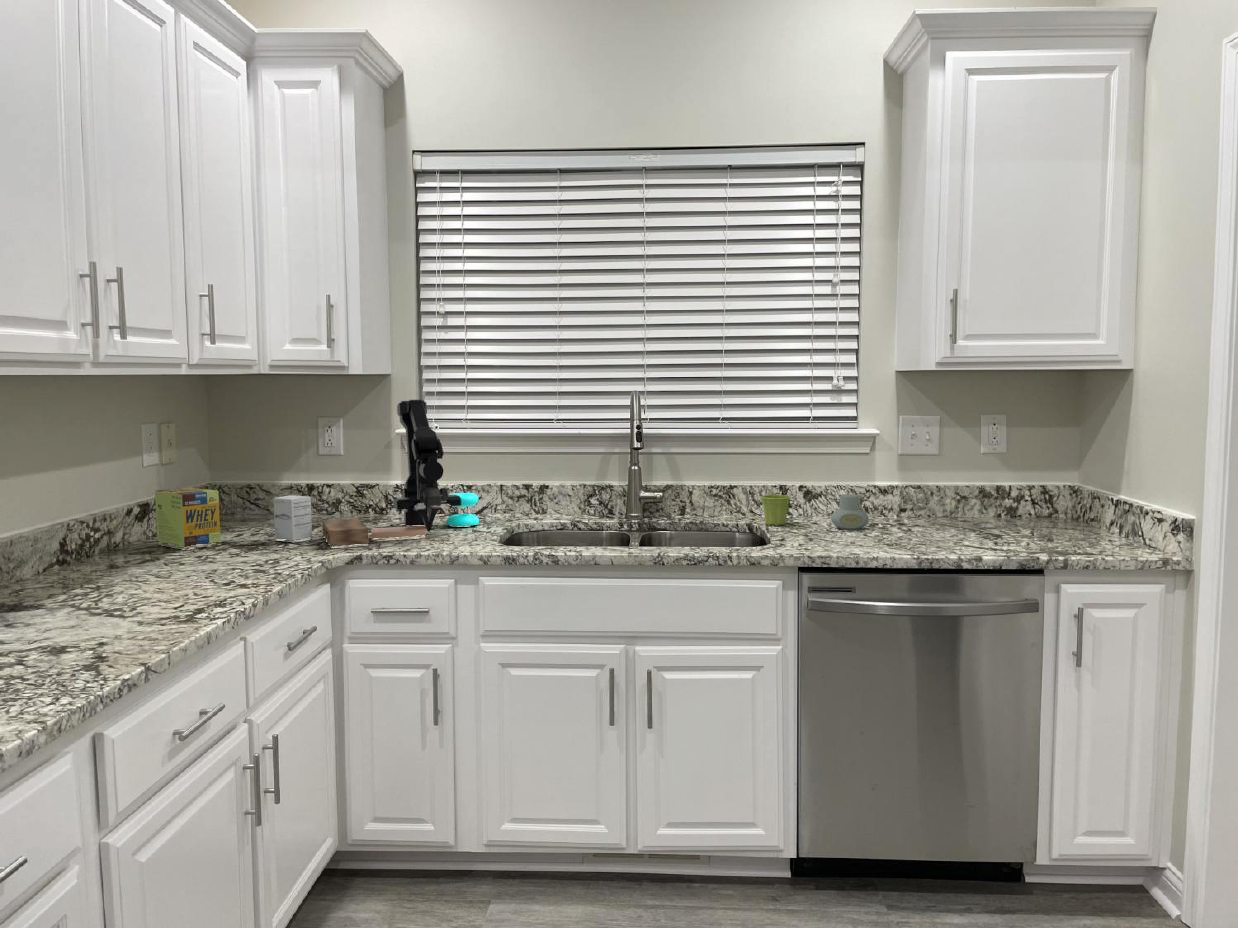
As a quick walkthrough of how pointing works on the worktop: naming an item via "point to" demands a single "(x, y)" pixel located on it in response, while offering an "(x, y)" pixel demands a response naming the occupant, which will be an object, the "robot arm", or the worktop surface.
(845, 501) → the air freshener
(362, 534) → the shelf
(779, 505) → the plant pot
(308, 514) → the supplement box
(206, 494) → the protein box
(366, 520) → the worktop surface
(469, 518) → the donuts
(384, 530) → the tile
